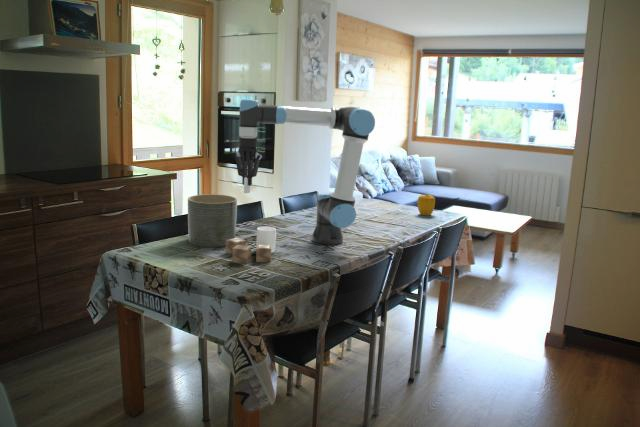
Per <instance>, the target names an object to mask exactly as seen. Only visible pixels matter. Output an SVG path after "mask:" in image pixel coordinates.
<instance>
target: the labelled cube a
mask: <svg viewBox="0 0 640 427" xmlns="http://www.w3.org/2000/svg"><path fill="white" fill-rule="evenodd" d="M237 245H245V246H247V240H246V239H242V238H239V237H235V238H233V239H229V240H226V246H225V253H226V254H228V255H231V256H233V248H234V247H235V246H237Z"/></svg>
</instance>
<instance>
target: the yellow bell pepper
mask: <svg viewBox="0 0 640 427" xmlns="http://www.w3.org/2000/svg"><path fill="white" fill-rule="evenodd" d="M435 206H436V197H434V195H431V194H420V195H419V196H418V197H417V209H418V212H419V214H420V215H422V216H424V215H425V216H426V217H427V216H431V215H433V214H432V213H433V212H434V209H435Z"/></svg>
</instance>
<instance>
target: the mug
mask: <svg viewBox="0 0 640 427" xmlns="http://www.w3.org/2000/svg"><path fill="white" fill-rule="evenodd" d="M276 241H277V228H275V227H273V226H266V225H265V226H258V227H257V228H256V249H257V245H271V254H273V253H274V252H275V251H276ZM256 249H255V250H256Z"/></svg>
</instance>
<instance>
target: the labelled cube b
mask: <svg viewBox="0 0 640 427" xmlns="http://www.w3.org/2000/svg"><path fill="white" fill-rule="evenodd" d="M256 245H257V244H256ZM255 250H256V254H255V257H256V258H255V262H256V263H271V261H272V253H271V245H257V249H255Z"/></svg>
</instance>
